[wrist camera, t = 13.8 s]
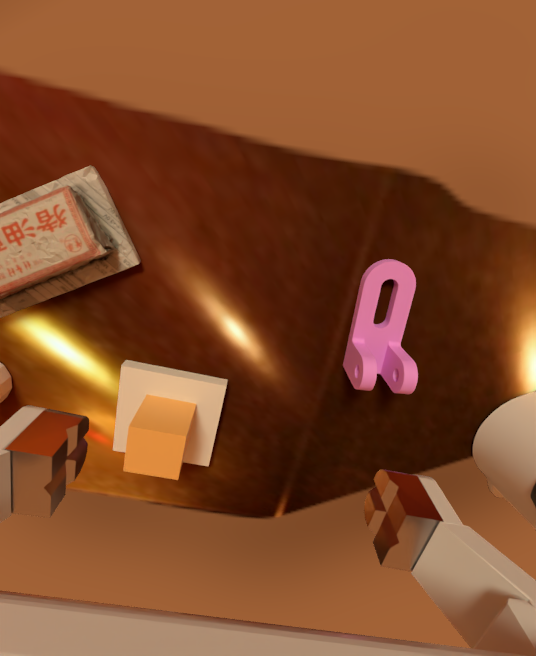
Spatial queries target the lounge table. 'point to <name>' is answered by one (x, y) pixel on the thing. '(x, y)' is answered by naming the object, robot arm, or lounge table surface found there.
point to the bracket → (382, 331)
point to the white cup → (4, 382)
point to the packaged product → (60, 240)
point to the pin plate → (178, 387)
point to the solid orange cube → (159, 437)
